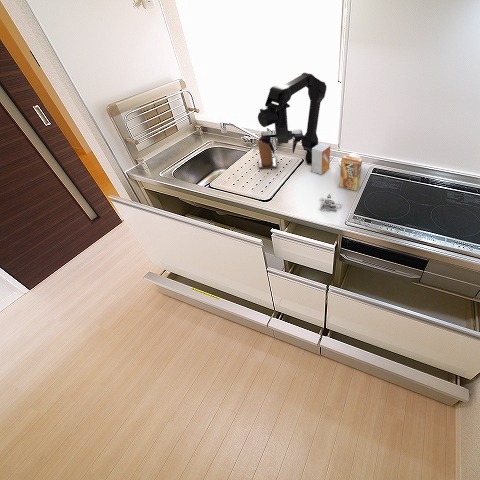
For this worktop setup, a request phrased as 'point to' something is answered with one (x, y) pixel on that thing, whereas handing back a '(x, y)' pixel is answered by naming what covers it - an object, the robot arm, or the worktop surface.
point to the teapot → (328, 205)
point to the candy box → (350, 172)
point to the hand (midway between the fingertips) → (283, 153)
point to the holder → (267, 165)
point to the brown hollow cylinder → (265, 153)
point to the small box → (320, 158)
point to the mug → (351, 156)
